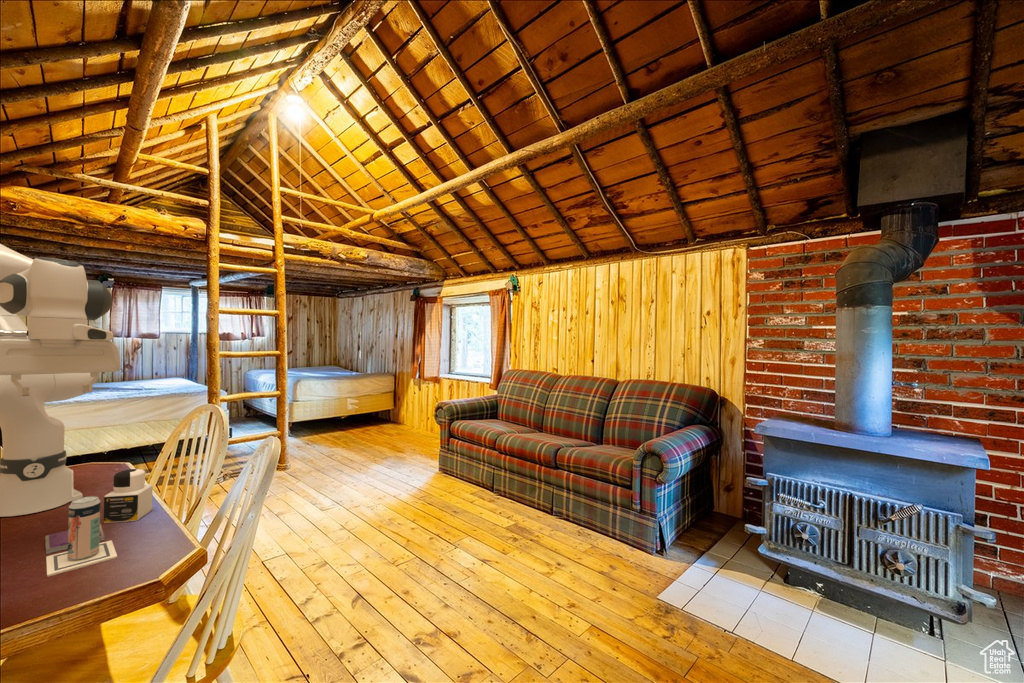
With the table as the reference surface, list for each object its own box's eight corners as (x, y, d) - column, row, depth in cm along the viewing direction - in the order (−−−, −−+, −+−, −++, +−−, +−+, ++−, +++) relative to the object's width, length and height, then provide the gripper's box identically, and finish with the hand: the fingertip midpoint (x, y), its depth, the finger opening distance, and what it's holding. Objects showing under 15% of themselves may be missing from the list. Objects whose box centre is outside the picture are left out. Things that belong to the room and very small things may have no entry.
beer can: (69, 554, 89) (70, 498, 89) (100, 548, 92) (101, 493, 92) (65, 564, 85) (66, 505, 85) (98, 556, 88) (99, 500, 88)
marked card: (46, 558, 88) (46, 556, 88) (111, 542, 96) (111, 539, 96) (47, 576, 81) (47, 574, 81) (117, 557, 89) (117, 555, 89)
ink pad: (45, 540, 96) (45, 534, 96) (100, 527, 102) (100, 522, 102) (46, 554, 90) (46, 548, 90) (104, 539, 96) (104, 534, 96)
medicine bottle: (102, 524, 104) (103, 476, 104) (120, 512, 111) (121, 467, 111) (137, 521, 106) (138, 474, 106) (152, 510, 113) (153, 466, 113)
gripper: (-19, 329, 82) (-21, 400, 82) (122, 333, 98) (120, 392, 98) (-17, 329, 86) (-18, 396, 86) (118, 332, 102) (117, 389, 102)
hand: (56, 394), depth 92 cm, fingers open, 8 cm apart
